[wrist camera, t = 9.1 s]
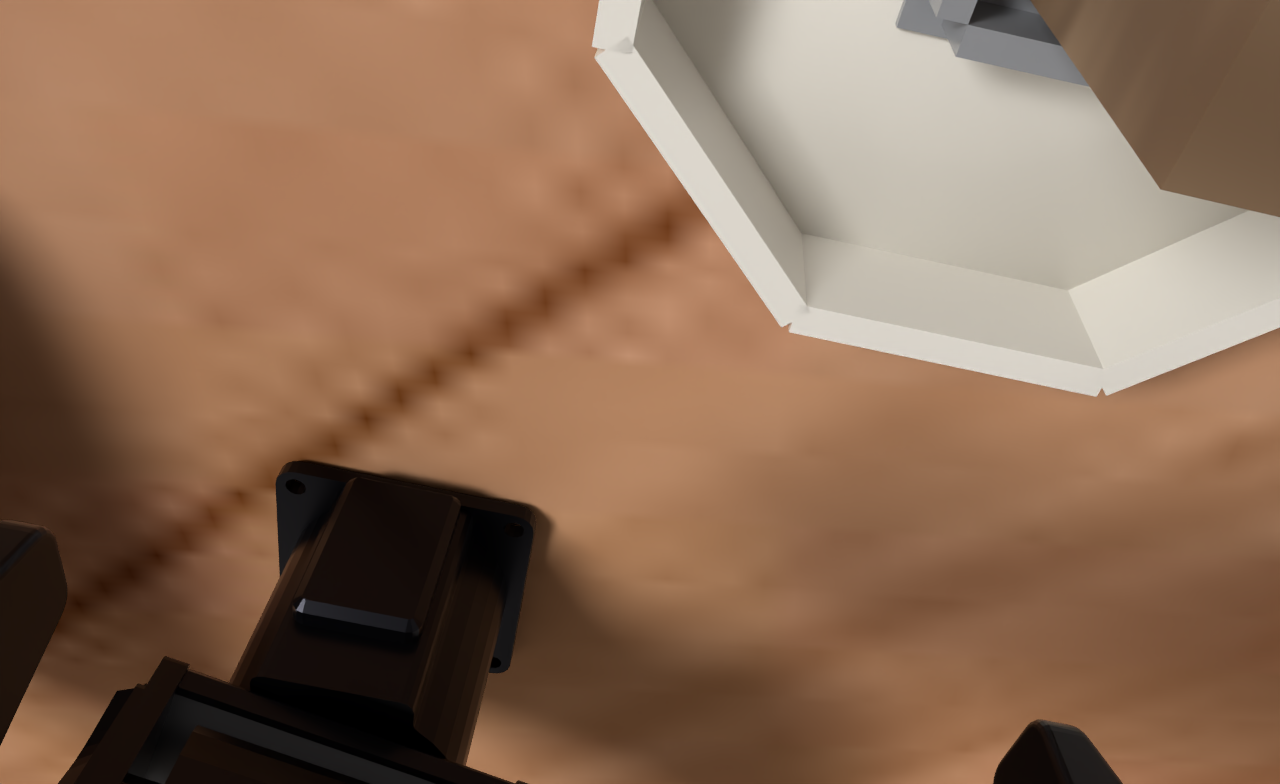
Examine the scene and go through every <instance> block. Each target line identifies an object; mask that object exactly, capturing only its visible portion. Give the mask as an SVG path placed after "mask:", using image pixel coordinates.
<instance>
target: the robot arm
mask: <svg viewBox="0 0 1280 784" xmlns="http://www.w3.org/2000/svg"><path fill="white" fill-rule="evenodd" d="M294 479H296V480H298V481H301V482H302V483H299V482H297V481H295V480H294ZM276 501H277V523H278V545H279V567H280V578H279V580H278V582H277V585H276V587H275V589H274V591H273V593H272V595H271V597H270V599H269V601H268V603H267V605H266V607H265V609H264V611H263V613H262V616H261V618H260V620H259V622H258V624H257V626H256V628H255V630H254V632H253V634H252V636H251V638H250V640H249V642H248V644H247V647H246V649H245V651H244V653H243V655H242V657H241V659H240V661H239V663H238V665H237V667H236V669H235V671H234V673H233V676H232V678H231V680H230V682H229V683H228V682H225V681H222V680H219V679H216V678H213V677H211V676H208V675H205V674H202V673H199V672H196V671H193V670H191V669H189V666H190V664H187V663H184V662H181V661H179V660H176V659H173V658H170V657H167V656H165V657H164V658H163V660H162V661H161V663H160V665H159V666H158V668H157V669H156V671H155V673H154V674H153V676H152V677H151V679H150V681H149V682H148V684H145V685H141V684H137V686H136V687H135V688H133V689H127V690H120V691H117V692H116V694H115V695H114V697H113V699H112V700H111V702H110V704H109V706H108V707H107V709H106V711H105V712H104V714H103V716H102V718H101V719H100V721H99V723H98V724H97V726H96V728H95V730H94V731H93V733H92V735H91V736H90V738H89V740H88V741H87V743H86V745H85V746H84V748H83V749H82V751H81V753H80V754H79V756H78V757H77V759H76V760H75V762H74V763H73V764H72V766H71V767H70V769H69V770H68V771H67V772H66V774H65V775H64V776H63V778H62V779H61V780H60V781H59V783H58V784H528V783H525V782H522V781H519V780H518V781H517V782H516V783H512V782H509V781H507V780H504V779H501V778H498V777H495V776H492V775H489V774H487V773H484V772H481V771H478V770H475V769H472V768H470V767H467V766H466V762H467V758H468V754H469V750H470V746H471V742H472V738H473V734H474V730H475V726H476V722H477V718H478V714H479V710H480V706H481V702H482V698H483V693H484V689H485V685H486V681H487V677H488V673H501V672H504V671H506V670H508V668H509V666H510V663H511V658H512V654H513V648H514V643H515V637H516V632H517V626H518V621H519V615H520V610H521V604H522V599H523V593H524V588H525V582H526V577H527V571H528V566H529V560H530V555H531V549H532V544H533V538H534V533H535V527H536V517H535V515H534V514H533V512H532V511H530V510H529V509H528V508H526V507H523V506H520V505H516V504H511V503H506V502H501V501H496V500H491V499H486V498H481V497H476V496H471V495H466V494H461V493H456V492H451V491H446V490H441V489H436V488H431V487H426V486H421V485H416V484H411V483H406V482H401V481H396V480H391V479H386V478H381V477H376V476H371V475H366V474H361V473H356V472H351V471H345V470H340V469H335V468H330V467H325V466H320V465H315V464H310V463H305V462H298V461H292V462H289V463H287V464H285V465H284V466H283V468H282V469H281V471H280V473H279V475H278V477H277V480H276ZM511 523H516V524H519V525H521V526H515V525H512V524H511ZM66 599H67V582H66V578H65V574H64V570H63V566H62V562H61V558H60V554H59V550H58V546H57V541H56V538H55V535H54V533H53V532H52V531H51V530H50V529H49V528H47V527H44V526H40V525H35V524H30V523H24V522H19V521H14V520H2V521H0V745H1V743H2V741H3V739H4V737H5V734H6V732H7V730H8V728H9V726H10V724H11V722H12V720H13V717H14V715H15V713H16V711H17V709H18V707H19V705H20V703H21V700H22V698H23V696H24V694H25V692H26V690H27V688H28V685H29V683H30V681H31V679H32V677H33V675H34V673H35V671H36V668H37V666H38V664H39V662H40V660H41V658H42V656H43V653H44V651H45V649H46V647H47V645H48V643H49V641H50V639H51V636H52V634H53V632H54V630H55V628H56V626H57V624H58V621H59V619H60V617H61V615H62V613H63V610H64V607H65V604H66ZM993 784H1123V783H1122V782H1121V780H1120V779H1119V778H1118V776H1117V775H1116V774H1115V773H1114V771H1113V770H1112V769H1111V767H1110V766H1109V765H1108V763H1107V762H1106V761H1105V759H1104V758H1103V757H1102V755H1101V754H1100V753H1099V751H1098V750H1097V749H1096V747H1095V746H1094V745H1093V743H1092V742H1091V741H1090V739H1089V738H1088V737H1087V736H1086V735H1085V734H1084V733H1083V732H1082V731H1081V730H1080V729H1078V728H1077V727H1074V726H1071V725H1067V724H1062V723H1057V722H1052V721H1046V720H1035V721H1033V722H1031V723H1030V724H1029V725H1028V726H1027V727H1026V728H1025V730H1024V731H1023V732H1022V734H1021V735H1020V736H1019V738H1018V739H1017V740H1016V742H1015V743H1014V744H1013V746H1012V747H1011V748H1010V750H1009V751H1008V752H1007V754H1006V755H1005V756H1004V758H1003V759H1002V760H1001V762H1000V763H999V765H998V767H997V770H996V772H995V776H994V782H993Z"/></svg>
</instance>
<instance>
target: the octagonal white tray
mask: <svg viewBox="0 0 1280 784" xmlns="http://www.w3.org/2000/svg"><path fill="white" fill-rule="evenodd" d="M592 47H596V48H598V49H597V52H596V54H595V57H594V58H595V59H596V61H597V62H598V63H599V65H600V66H601V68H602V69H603V71H604V72H605V74H606V75H607V76H608V78H609V79H610V81H611V82H612V84H613V85H614V87H615V88H616V89H617V91H618V92H619V94H620V95H621V97H622V98H623V100H624V101H625V102H626V104H627V105H628V107H629V108H630V110H631V111H632V113H633V114H634V115H635V117H636V118H637V120H638V121H639V123H640V124H641V126H642V127H643V128H644V130H645V131H646V133H647V134H648V136H649V137H650V139H651V140H652V141H653V143H654V144H655V146H656V147H657V149H658V150H659V151H660V153H661V154H662V156H663V157H664V159H665V160H666V162H667V163H668V164H669V166H670V167H671V169H672V170H673V172H674V173H675V175H676V176H677V177H678V179H679V180H680V182H681V183H682V185H683V186H684V188H685V189H686V190H687V192H688V193H689V195H690V196H691V198H692V199H693V201H694V202H695V203H696V205H697V206H698V208H699V209H700V211H701V212H702V214H703V215H704V216H705V218H706V219H707V221H708V222H709V224H710V225H711V227H712V228H713V229H714V231H715V232H716V234H717V235H718V237H719V238H720V240H721V241H722V242H723V244H724V245H725V247H726V248H727V250H728V251H729V253H730V254H731V255H732V257H733V258H734V260H735V261H736V263H737V264H738V266H739V267H740V268H741V270H742V271H743V273H744V274H745V276H746V277H747V279H748V280H749V281H750V283H751V284H752V286H753V287H754V289H755V290H756V292H757V293H758V294H759V296H760V297H761V299H762V300H763V302H764V303H765V304H766V306H767V307H768V309H769V310H770V312H771V313H772V315H773V316H774V317H775V319H776V320H777V322H778V323H779V325H780V326H781V327H783V326H785V325H787V324H788V325H789V332H791V333H795V334H800V335H805V336H810V337H814V338H819V339H824V340H829V341H833V342H838V343H843V344H848V345H853V346H857V347H862V348H867V349H872V350H876V351H881V352H886V353H891V354H895V355H900V356H905V357H910V358H914V359H919V360H924V361H929V362H933V363H938V364H943V365H948V366H952V367H957V368H962V369H967V370H971V371H976V372H981V373H986V374H990V375H995V376H1000V377H1005V378H1009V379H1014V380H1019V381H1024V382H1029V383H1033V384H1038V385H1043V386H1048V387H1052V388H1057V389H1062V390H1067V391H1071V392H1076V393H1081V394H1086V395H1090V396H1095V397H1097V395H1098V393H1099V392H1100V390H1101V388H1103V390H1104V392H1105V394H1106V396H1107V395H1110V394H1112V393H1115V392H1117V391H1120V390H1122V389H1125V388H1127V387H1130V386H1132V385H1135V384H1138V383H1140V382H1143V381H1145V380H1148V379H1150V378H1153V377H1155V376H1158V375H1160V374H1163V373H1165V372H1168V371H1171V370H1173V369H1176V368H1178V367H1181V366H1183V365H1186V364H1188V363H1191V362H1193V361H1196V360H1198V359H1201V358H1204V357H1206V356H1209V355H1211V354H1214V353H1216V352H1219V351H1221V350H1224V349H1226V348H1229V347H1231V346H1234V345H1237V344H1239V343H1242V342H1244V341H1247V340H1249V339H1252V338H1254V337H1257V336H1259V335H1262V334H1264V333H1267V332H1270V331H1272V330H1275V329H1277V328H1280V217H1276V216H1272V215H1268V214H1263V213H1259V212H1255V211H1251V210H1246V209H1242V208H1238V207H1233V206H1229V205H1225V204H1220V203H1216V202H1212V201H1208V200H1203V199H1199V198H1195V197H1190V196H1186V195H1182V194H1177V193H1173V192H1169V191H1165V190H1160V188H1159V187H1158V185H1157V184H1156V182H1155V181H1154V179H1153V178H1152V176H1151V175H1150V174H1149V172H1148V171H1147V169H1146V168H1145V166H1144V165H1143V163H1142V162H1141V161H1140V159H1139V158H1138V156H1137V155H1136V153H1135V152H1134V150H1133V149H1132V147H1131V146H1130V145H1129V143H1128V142H1127V140H1126V139H1125V137H1124V136H1123V134H1122V133H1121V131H1120V130H1119V129H1118V127H1117V126H1116V124H1115V123H1114V121H1113V120H1112V118H1111V117H1110V115H1109V114H1108V113H1107V111H1106V110H1105V108H1104V107H1103V105H1102V104H1101V102H1100V101H1099V99H1098V98H1097V97H1096V95H1095V94H1094V92H1093V91H1092V89H1091V88H1090V86H1089V85H1088V84H1087V82H1086V81H1085V79H1084V78H1083V76H1082V75H1081V73H1080V72H1079V70H1078V69H1077V68H1076V66H1075V65H1074V63H1073V62H1072V60H1071V59H1070V57H1069V56H1068V54H1067V53H1066V52H1065V50H1064V49H1063V47H1062V46H1061V44H1060V43H1059V41H1058V40H1057V38H1056V37H1055V36H1054V34H1053V33H1052V31H1051V30H1050V28H1049V27H1048V25H1047V24H1046V22H1045V21H1044V20H1043V18H1042V17H1041V15H1040V14H1039V12H1038V11H1037V9H1036V8H1035V7H1034V5H1033V4H1032V2H1031V1H1030V0H599V6H598V12H597V18H596V24H595V30H594V37H593V43H592Z"/></svg>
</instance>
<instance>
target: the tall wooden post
mask: <svg viewBox="0 0 1280 784" xmlns="http://www.w3.org/2000/svg"><path fill="white" fill-rule="evenodd" d="M1030 1H1031V2H1032V4H1033V5H1034V7H1035V8H1036V9H1037V11H1038V12H1039V14H1040V15H1041V17H1042V18H1043V20H1044V21H1045V22H1046V24H1047V25H1048V27H1049V28H1050V30H1051V31H1052V33H1053V34H1054V36H1055V37H1056V38H1057V40H1058V41H1059V43H1060V44H1061V46H1062V47H1063V49H1064V50H1065V52H1066V53H1067V54H1068V56H1069V57H1070V59H1071V60H1072V62H1073V63H1074V65H1075V66H1076V68H1077V69H1078V70H1079V72H1080V73H1081V75H1082V76H1083V78H1084V79H1085V81H1086V82H1087V84H1088V85H1089V86H1090V88H1091V89H1092V91H1093V92H1094V94H1095V95H1096V97H1097V98H1098V99H1099V101H1100V102H1101V104H1102V105H1103V107H1104V108H1105V110H1106V111H1107V113H1108V114H1109V115H1110V117H1111V118H1112V120H1113V121H1114V123H1115V124H1116V126H1117V127H1118V129H1119V130H1120V131H1121V133H1122V134H1123V136H1124V137H1125V139H1126V140H1127V142H1128V143H1129V145H1130V146H1131V147H1132V149H1133V150H1134V152H1135V153H1136V155H1137V156H1138V158H1139V159H1140V161H1141V162H1142V163H1143V165H1144V166H1145V168H1146V169H1147V171H1148V172H1149V174H1150V175H1151V176H1152V178H1153V179H1154V181H1155V182H1156V184H1157V185H1158V187H1159V188H1160V190H1165V191H1169V192H1173V193H1177V194H1182V195H1186V196H1190V197H1195V198H1199V199H1203V200H1208V201H1212V202H1216V203H1220V204H1225V205H1229V206H1233V207H1238V208H1242V209H1246V210H1251V211H1255V212H1259V213H1263V214H1268V215H1272V216H1276V217H1280V0H1030Z"/></svg>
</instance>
